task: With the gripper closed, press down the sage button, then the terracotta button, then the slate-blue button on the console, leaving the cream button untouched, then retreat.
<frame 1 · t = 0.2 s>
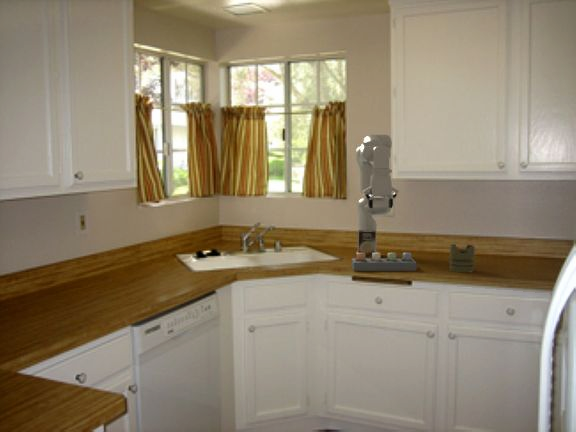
hand: (380, 208, 298), 30 cm above the counter, tool pointing down, fingers open, 9 cm apart
coffee box: (366, 261, 325), on the counter
slate button: (407, 257, 305), point 5 cm above the counter, slide at 0.0 cm
terracotta button: (361, 257, 305), point 5 cm above the counter, slide at 0.0 cm
cream button: (376, 257, 305), point 5 cm above the counter, slide at 0.0 cm
console: (383, 268, 305), on the counter
sage button: (391, 257, 305), point 5 cm above the counter, slide at 0.0 cm
olive tactical vest: (461, 270, 300), on the counter
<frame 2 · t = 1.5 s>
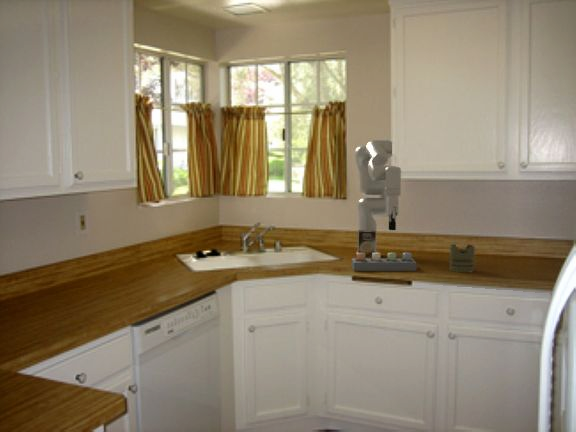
hand: (392, 229, 303), 19 cm above the counter, tool pointing down, fingers closed
nothing on the counter moved.
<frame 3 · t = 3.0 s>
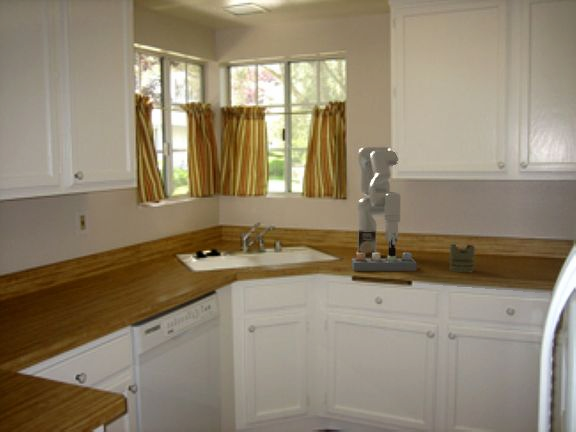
hand: (392, 255, 304), 6 cm above the counter, tool pointing down, fingers closed
sage button: (391, 260, 305), point 4 cm above the counter, slide at 1.2 cm, touching gripper
everything else where it was.
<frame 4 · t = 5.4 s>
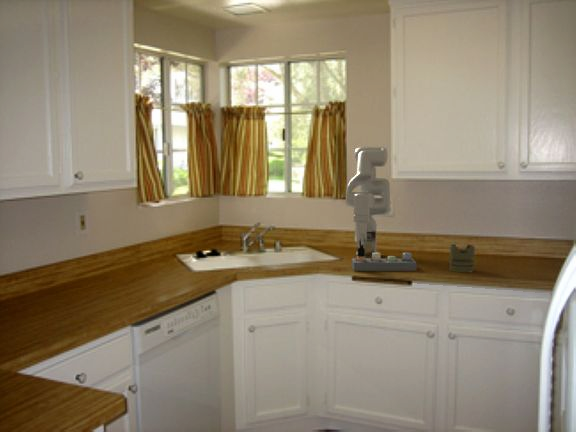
hand: (361, 256, 305), 6 cm above the counter, tool pointing down, fingers closed
terracotta button: (361, 260, 305), point 4 cm above the counter, slide at 1.4 cm
sage button: (391, 260, 305), point 4 cm above the counter, slide at 1.6 cm
everything else where it was.
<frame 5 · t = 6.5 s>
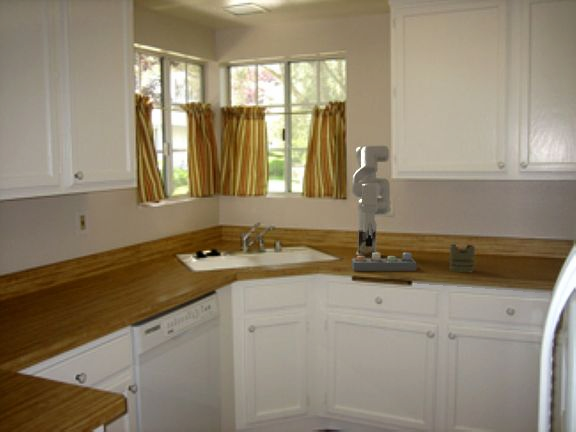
hand: (368, 246, 304), 11 cm above the counter, tool pointing down, fingers closed
nothing on the counter moved.
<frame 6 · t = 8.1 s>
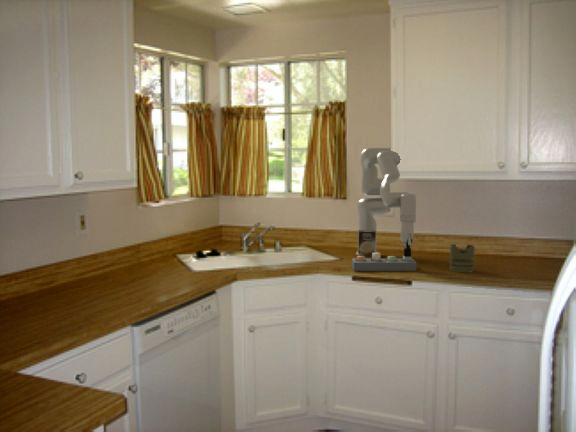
hand: (407, 256, 304), 6 cm above the counter, tool pointing down, fingers closed
slate button: (407, 260, 305), point 4 cm above the counter, slide at 1.5 cm, touching gripper
everything else where it was.
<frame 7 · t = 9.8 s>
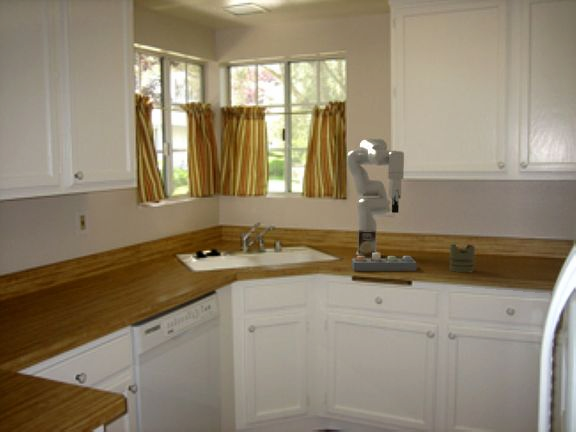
hand: (395, 212, 313), 26 cm above the counter, tool pointing down, fingers closed
slate button: (407, 260, 305), point 4 cm above the counter, slide at 1.6 cm
everything else where it was.
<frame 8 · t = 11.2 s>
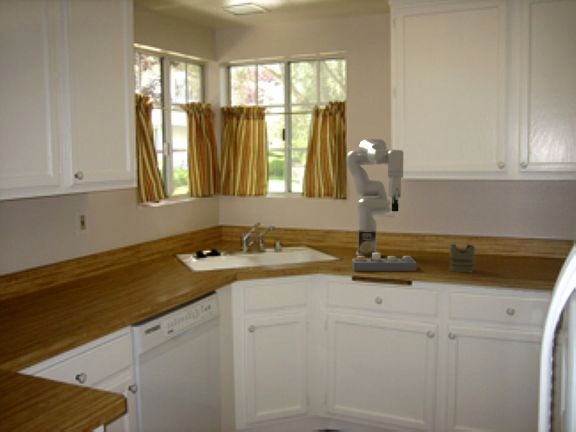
hand: (394, 211, 313), 27 cm above the counter, tool pointing down, fingers closed
nothing on the counter moved.
at the end: sage button slide at 1.6 cm; slate button slide at 1.6 cm; cream button slide at 0.0 cm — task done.
